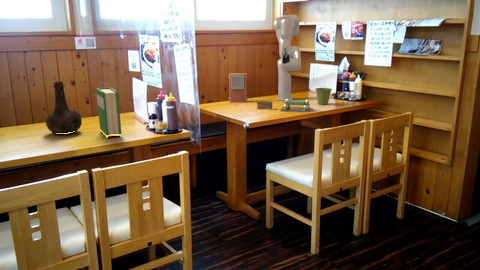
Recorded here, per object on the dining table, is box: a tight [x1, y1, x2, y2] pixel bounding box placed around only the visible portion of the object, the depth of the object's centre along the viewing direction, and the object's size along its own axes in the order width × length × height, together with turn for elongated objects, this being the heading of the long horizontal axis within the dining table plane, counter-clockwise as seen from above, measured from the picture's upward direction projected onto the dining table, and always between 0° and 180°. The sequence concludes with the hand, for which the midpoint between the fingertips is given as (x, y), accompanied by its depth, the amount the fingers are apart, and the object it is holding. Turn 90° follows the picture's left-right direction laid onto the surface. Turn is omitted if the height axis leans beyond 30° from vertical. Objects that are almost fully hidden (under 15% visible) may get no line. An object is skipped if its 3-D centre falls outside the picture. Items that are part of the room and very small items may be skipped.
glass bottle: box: [45, 80, 83, 134], centre depth 225 cm, size 18×18×28 cm
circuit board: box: [287, 99, 310, 106], centre depth 282 cm, size 7×16×2 cm, turn 73°
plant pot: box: [315, 87, 333, 106], centre depth 302 cm, size 12×12×11 cm
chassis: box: [279, 99, 314, 113], centre depth 283 cm, size 12×20×7 cm, turn 73°
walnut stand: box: [256, 100, 273, 110], centre depth 289 cm, size 3×10×5 cm, turn 73°
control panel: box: [227, 72, 249, 104], centre depth 316 cm, size 21×7×15 cm
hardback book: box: [95, 87, 122, 135], centre depth 221 cm, size 18×7×24 cm, turn 29°
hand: (286, 62), depth 291 cm, fingers open, 9 cm apart
